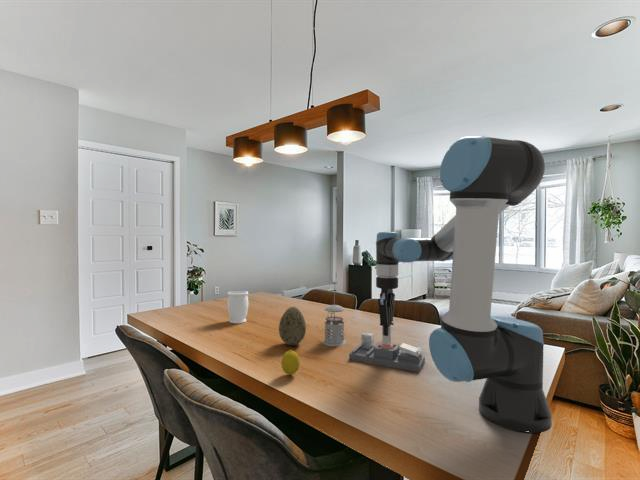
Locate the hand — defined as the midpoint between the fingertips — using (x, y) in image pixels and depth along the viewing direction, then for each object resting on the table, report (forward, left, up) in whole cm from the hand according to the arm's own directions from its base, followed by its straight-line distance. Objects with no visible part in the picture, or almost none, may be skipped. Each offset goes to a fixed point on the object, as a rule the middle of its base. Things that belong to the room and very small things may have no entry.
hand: (386, 343), depth 114 cm
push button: (0, 0, -3) cm, 3 cm away
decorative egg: (-1, +38, -6) cm, 38 cm away
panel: (0, 0, -6) cm, 6 cm away
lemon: (-26, +23, -6) cm, 35 cm away
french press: (+10, +25, -6) cm, 27 cm away
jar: (+16, +81, -6) cm, 83 cm away
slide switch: (+3, +8, -4) cm, 9 cm away
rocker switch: (0, -8, -1) cm, 8 cm away
